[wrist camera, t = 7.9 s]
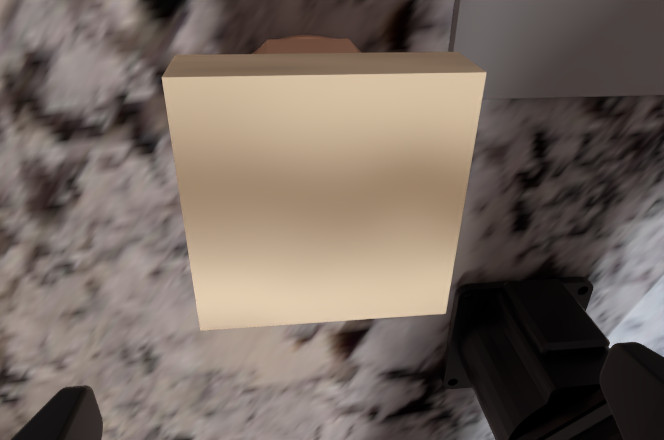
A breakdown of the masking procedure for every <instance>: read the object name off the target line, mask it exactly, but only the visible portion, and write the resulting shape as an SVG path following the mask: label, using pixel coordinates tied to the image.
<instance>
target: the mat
mask: <svg viewBox="0 0 664 440" xmlns="http://www.w3.org/2000/svg"><path fill="white" fill-rule="evenodd" d="M449 52H459V53H460V54H462V55H463V56H465V57H466V58H467V59H469V60H470V61H472V62H473V63H474V64H476V65H477V66H479V67H480V68H481V69H483V70H484V71H485V72H487V73H486V79H485V85H484V91H483V97H482V99H512V98H556V97H600V96H644V95H664V0H455V5H454V13H453V20H452V28H451V36H450V44H449Z"/></svg>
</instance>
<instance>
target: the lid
mask: <svg viewBox="0 0 664 440" xmlns="http://www.w3.org/2000/svg"><path fill="white" fill-rule="evenodd" d="M486 73H487V72H485V71H484V70H483V69H481V68H480V67H479V66H477V65H476V64H474V63H473V62H472V61H470V60H469V59H467V58H466V57H465V56H463V55H462V54H460V53H459V52H390V53H300V54H210V55H175V56H174V57H173V59H172V61H171V63H170V64H169V66H168V68H167V69H166V71H165V73H164V74H163V76H162V82H163V89H164V95H165V102H166V108H167V115H168V122H169V128H170V135H171V141H172V148H173V154H174V161H175V167H176V174H177V180H178V187H179V194H180V200H181V207H182V213H183V220H184V226H185V233H186V239H187V246H188V252H189V259H190V266H191V272H192V279H193V285H194V292H195V298H196V305H197V311H198V318H199V324H200V331H201V330H215V329H230V328H244V327H259V326H274V325H288V324H303V323H317V322H332V321H346V320H361V319H375V318H390V317H405V316H419V315H434V314H446V309H447V303H448V297H449V291H450V285H451V279H452V273H453V268H454V262H455V256H456V250H457V244H458V238H459V232H460V226H461V220H462V215H463V209H464V203H465V197H466V191H467V185H468V179H469V173H470V167H471V162H472V156H473V150H474V144H475V138H476V132H477V126H478V120H479V114H480V109H481V103H482V97H483V91H484V85H485V79H486Z"/></svg>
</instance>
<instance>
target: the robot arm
mask: <svg viewBox="0 0 664 440" xmlns="http://www.w3.org/2000/svg"><path fill="white" fill-rule="evenodd" d="M581 287H582V288H581ZM579 288H580V289H579ZM592 291H593V285H592V284H591V282H590V281H589V280H588V279H587V278H585V277H571V278H555V279H539V280H524V281H508V282H492V283H476V284H466V285H463V286H461V287H459V289H458V290H457V292H456V295H455V300H454V306H453V312H452V317H451V323H450V329H449V334H448V340H447V346H446V351H445V357H444V363H443V368H442V374H441V380H442V383H443V385H444V387H445V388H447V389H457V388H469V387H473V390H474V392H475V394H476V396H477V399H478V401H479V403H480V405H481V408H482V410H483V412H484V414H485V417H486V419H487V421H488V424H489V426H490V428H491V430H492V433H493V435H494V437H495V439H496V440H664V357H663V356H661V355H659V354H657V353H656V352H654V351H652V350H651V349H649V348H647V347H645V346H644V345H642V344H640V343H637V342H627V343H617V344H614V345H613V346H612V347H611V348H609V347H608V346H609V344H610V342H609V340H608V339H607V337H606V336H605V335H604V334H603V332H602V331H601V330H600V329H599V328H598V326H597V325H596V324H595V323H594V321H593V320H592V319H591V318H590V316H589V315H588V314H587V313H586V308H587V305H588V303H589V300H590V297H591V294H592ZM467 294H471V295H469V296H467V297H465V296H466V295H467ZM102 431H103V422H102V416H101V413H100V410H99V407H98V404H97V401H96V398H95V395H94V392H93V390H92V388H91V387H90V386H73V387H65V388H63V389H61V390H60V391H59V392H58V393H57V394H56V395H55V396H54V397H53V398H52V399H51V400H50V401H49V402H48V403H47V404H46V405H45V406H44V407H43V408H42V409H41V410H40V411H39V412H38V413H37V414H36V415H35V416H34V417H33V418H32V419H31V420H30V421H29V422H28V423H27V424H26V425H25V426H24V427H23V428H22V429H21V430H20V431H19V432H18V433H17V434H16V435H15V436H14V437H13V438H12V439H11V440H101V438H102Z"/></svg>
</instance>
